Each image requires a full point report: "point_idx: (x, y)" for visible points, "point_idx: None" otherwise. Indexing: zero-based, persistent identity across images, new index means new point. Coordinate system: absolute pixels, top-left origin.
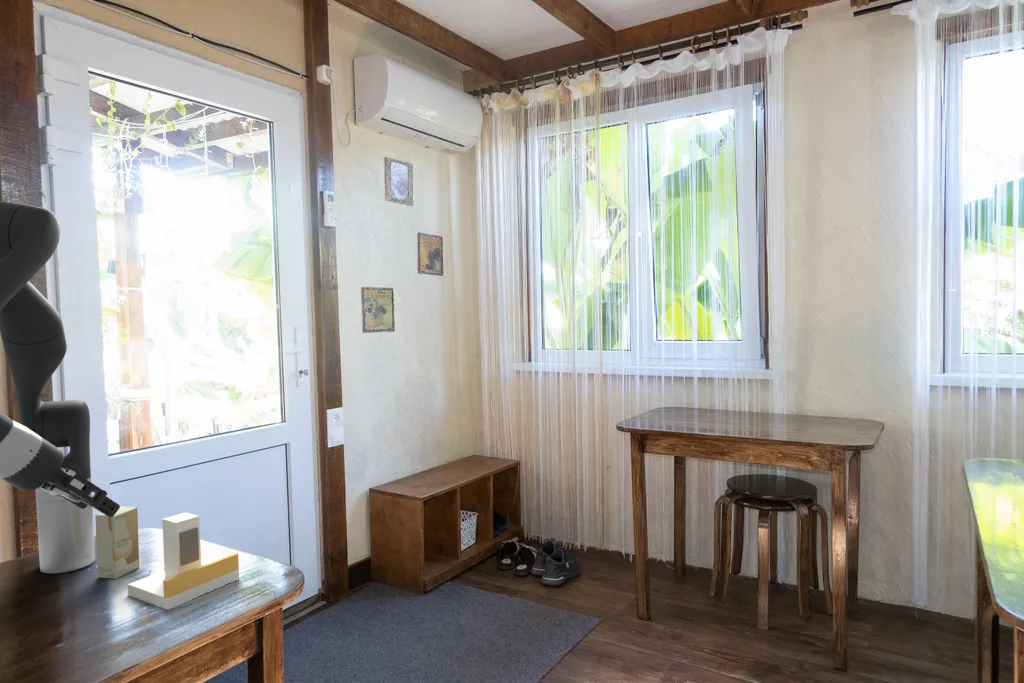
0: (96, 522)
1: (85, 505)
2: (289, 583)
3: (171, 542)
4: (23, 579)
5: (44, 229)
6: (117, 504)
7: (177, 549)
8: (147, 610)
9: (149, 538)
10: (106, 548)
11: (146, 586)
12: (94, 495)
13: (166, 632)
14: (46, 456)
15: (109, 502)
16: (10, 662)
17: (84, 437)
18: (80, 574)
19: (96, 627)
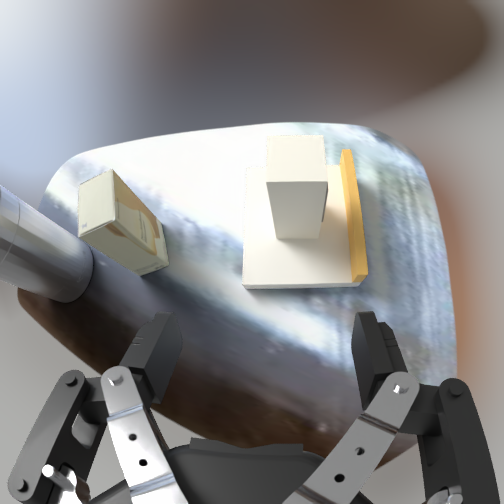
0: (88, 242)
1: (178, 337)
2: (410, 155)
3: (302, 206)
4: (62, 325)
5: None
6: (375, 318)
7: (322, 211)
8: (330, 303)
9: (92, 168)
10: (132, 253)
11: (282, 273)
12: (411, 419)
13: (420, 325)
14: None
15: (399, 356)
16: None
17: None
18: (107, 280)
19: (316, 375)
